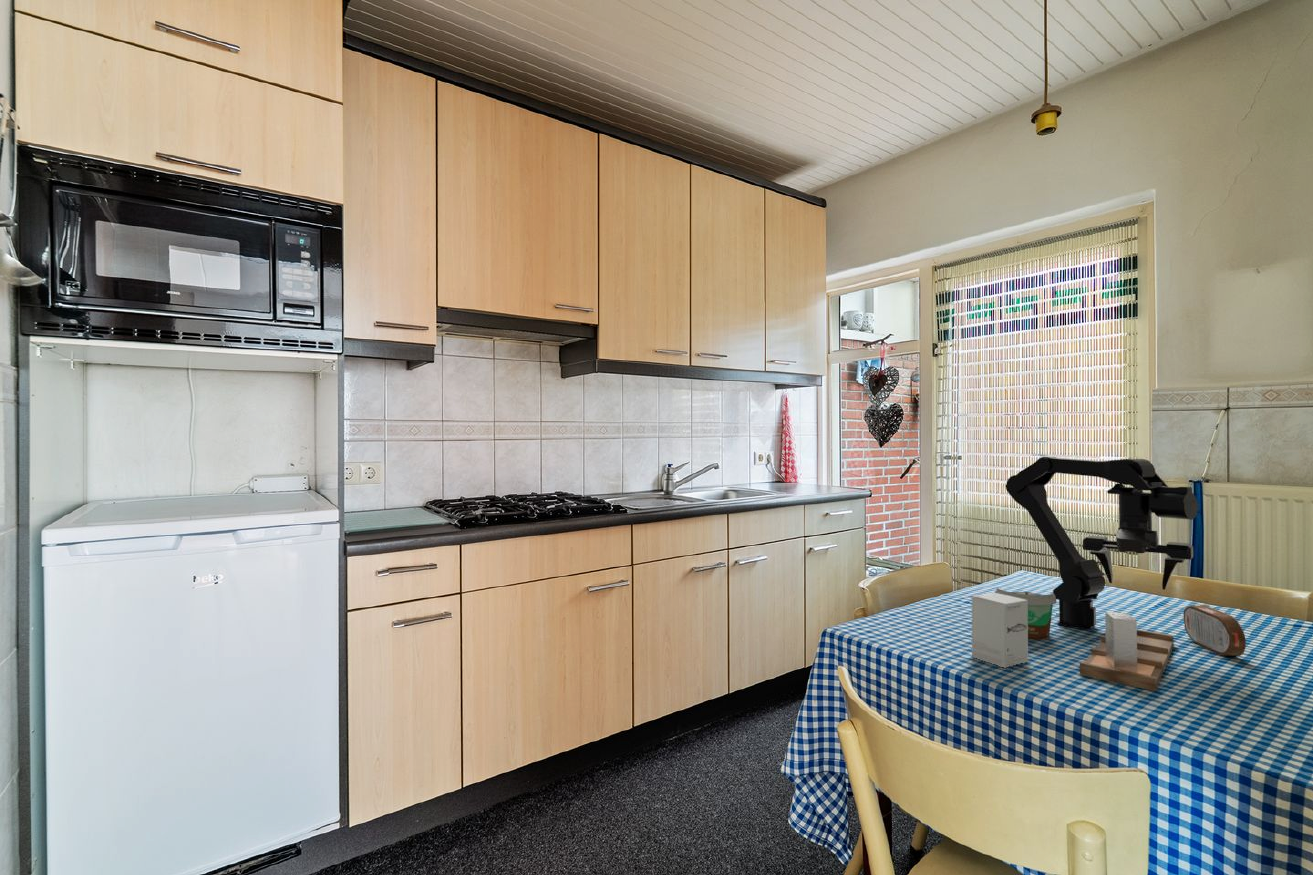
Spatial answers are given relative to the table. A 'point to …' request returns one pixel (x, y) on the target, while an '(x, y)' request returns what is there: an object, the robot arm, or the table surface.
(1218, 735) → the table surface
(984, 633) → the supplement box
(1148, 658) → the rack
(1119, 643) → the brushed grey box
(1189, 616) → the tin
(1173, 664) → the table surface
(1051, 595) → the food container
